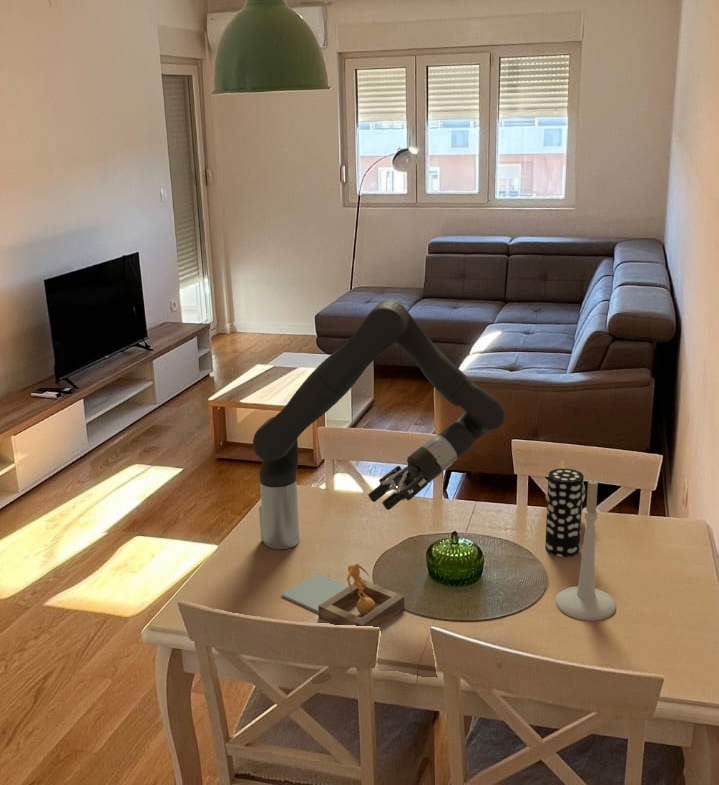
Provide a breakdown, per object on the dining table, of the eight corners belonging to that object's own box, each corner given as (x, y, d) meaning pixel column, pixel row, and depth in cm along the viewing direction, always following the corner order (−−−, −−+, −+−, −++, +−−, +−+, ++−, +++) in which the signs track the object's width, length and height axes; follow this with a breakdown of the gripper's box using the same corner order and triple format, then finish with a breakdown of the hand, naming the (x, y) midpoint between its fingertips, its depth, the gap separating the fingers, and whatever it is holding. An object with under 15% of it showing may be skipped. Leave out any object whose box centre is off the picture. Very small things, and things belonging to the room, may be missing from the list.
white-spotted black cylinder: (542, 553, 213) (545, 479, 206) (548, 539, 220) (551, 466, 214) (576, 559, 210) (581, 484, 203) (581, 544, 217) (586, 470, 211)
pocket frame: (318, 617, 188) (318, 605, 187) (361, 590, 199) (361, 578, 198) (362, 637, 180) (362, 625, 179) (404, 608, 191) (404, 596, 190)
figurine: (366, 625, 185) (364, 576, 181) (341, 619, 187) (339, 570, 183) (382, 606, 192) (381, 558, 188) (357, 600, 194) (356, 553, 191)
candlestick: (622, 598, 192) (631, 474, 183) (606, 626, 182) (615, 497, 173) (566, 584, 199) (572, 464, 190) (547, 610, 188) (553, 485, 179)
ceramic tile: (281, 596, 197) (281, 594, 197) (317, 575, 206) (317, 572, 205) (320, 613, 189) (320, 611, 189) (355, 591, 198) (355, 588, 198)
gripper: (411, 441, 201) (357, 483, 197) (437, 450, 187) (380, 495, 183) (427, 466, 203) (374, 509, 199) (454, 477, 189) (398, 522, 186)
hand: (377, 502), depth 191 cm, fingers open, 8 cm apart
